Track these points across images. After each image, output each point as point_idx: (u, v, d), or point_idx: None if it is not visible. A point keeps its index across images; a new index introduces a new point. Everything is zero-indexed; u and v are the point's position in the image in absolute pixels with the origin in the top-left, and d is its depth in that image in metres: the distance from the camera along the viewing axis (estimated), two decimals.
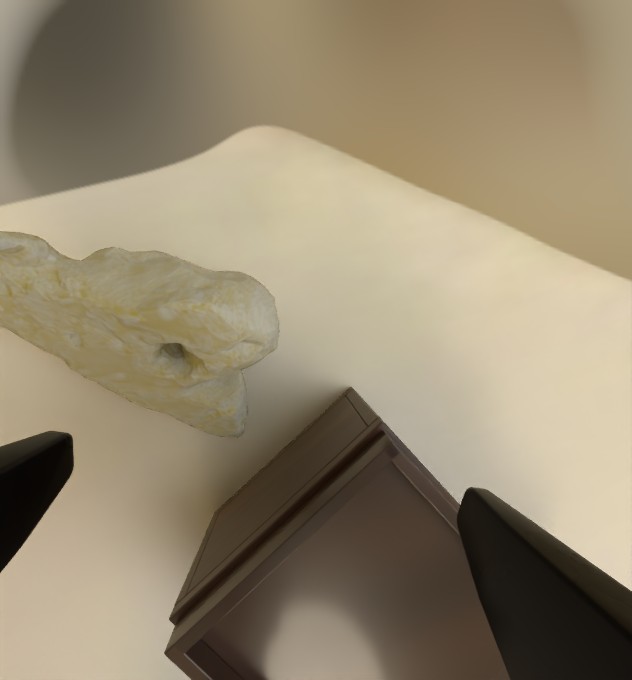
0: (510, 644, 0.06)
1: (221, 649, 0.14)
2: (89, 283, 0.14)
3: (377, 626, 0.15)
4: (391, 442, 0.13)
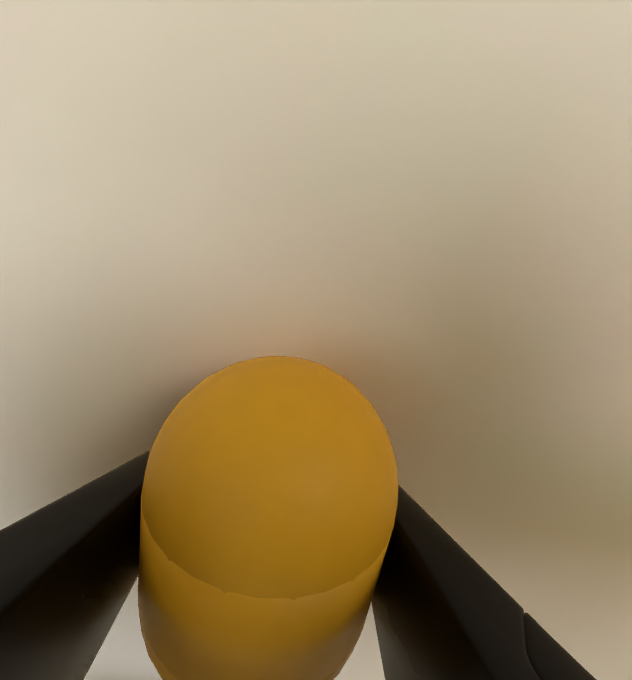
0: (385, 632, 0.06)
1: None
2: None
3: None
4: None
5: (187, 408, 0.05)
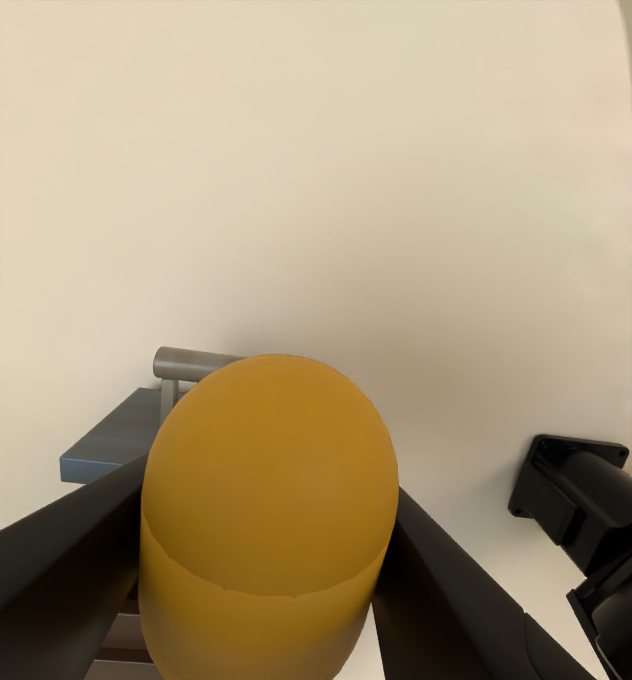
0: (385, 632, 0.06)
1: None
2: None
3: None
4: None
5: (187, 406, 0.05)
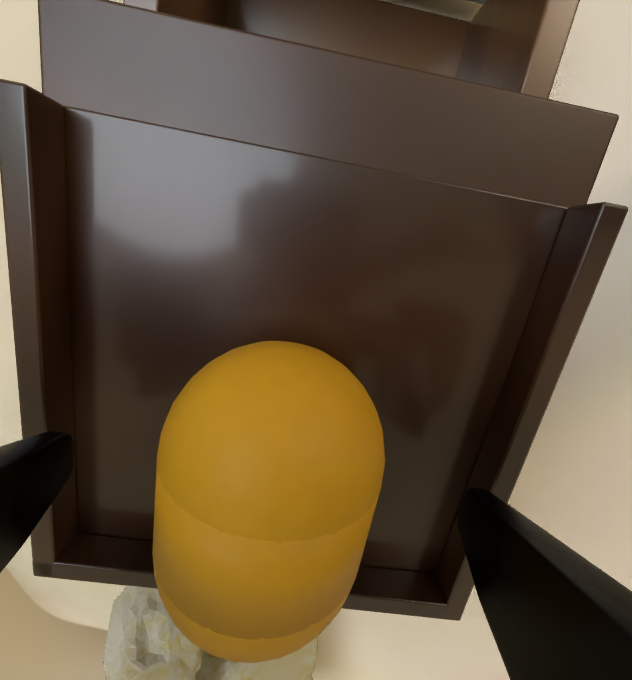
0: (510, 644, 0.06)
1: (439, 536, 0.10)
2: None
3: None
4: (35, 575, 0.09)
5: (197, 380, 0.06)
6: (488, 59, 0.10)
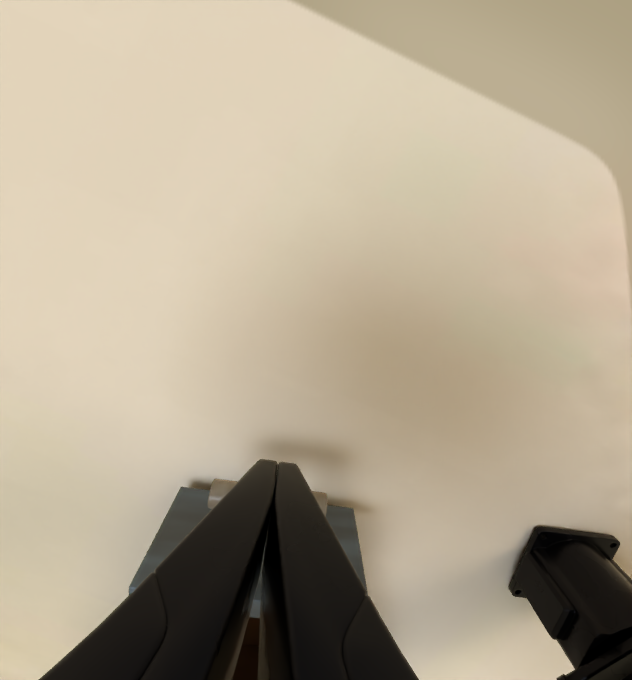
0: (262, 619, 0.06)
1: None
2: None
3: None
4: None
5: None
6: None
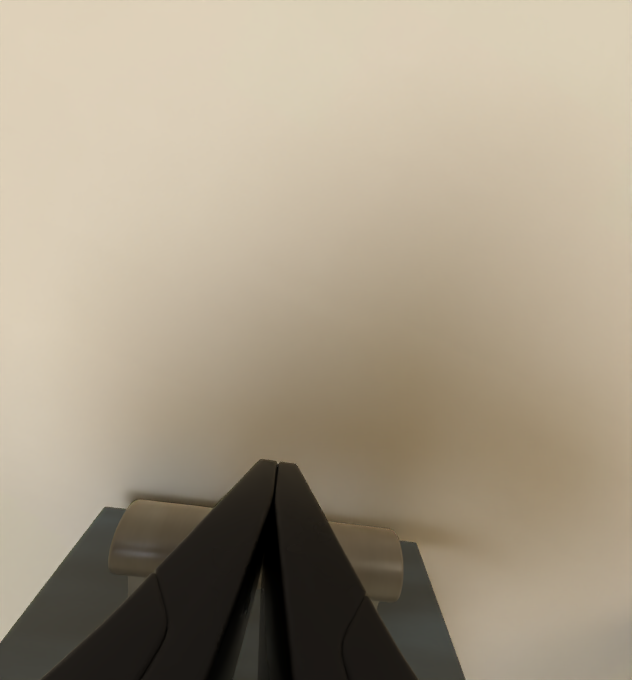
0: (261, 619, 0.06)
1: None
2: None
3: None
4: None
5: None
6: None
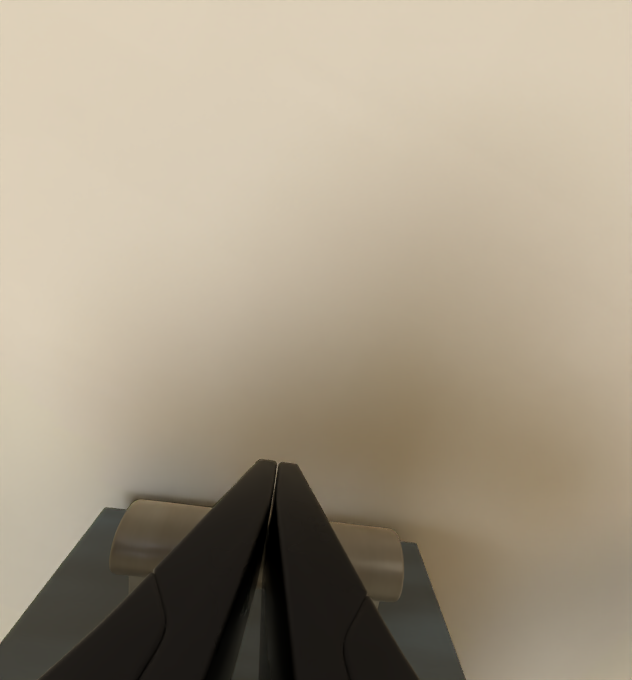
0: (262, 619, 0.06)
1: None
2: None
3: None
4: None
5: None
6: None
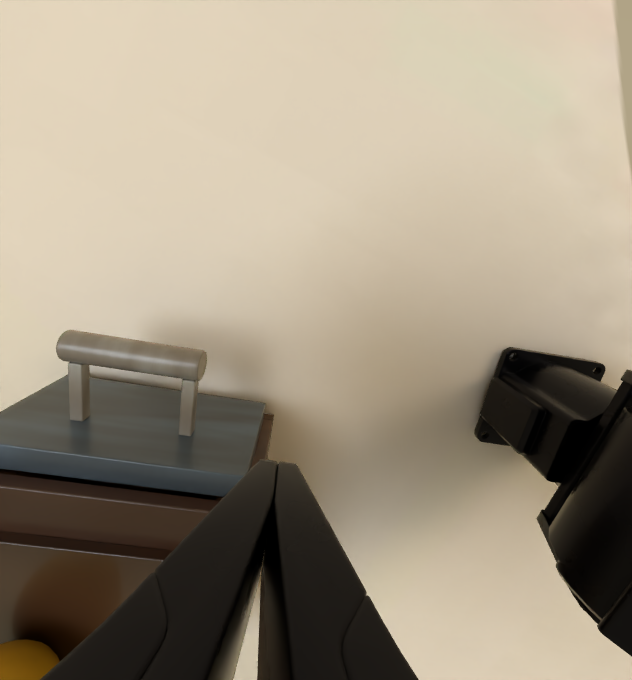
0: (261, 619, 0.06)
1: None
2: None
3: None
4: None
5: None
6: None
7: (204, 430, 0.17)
